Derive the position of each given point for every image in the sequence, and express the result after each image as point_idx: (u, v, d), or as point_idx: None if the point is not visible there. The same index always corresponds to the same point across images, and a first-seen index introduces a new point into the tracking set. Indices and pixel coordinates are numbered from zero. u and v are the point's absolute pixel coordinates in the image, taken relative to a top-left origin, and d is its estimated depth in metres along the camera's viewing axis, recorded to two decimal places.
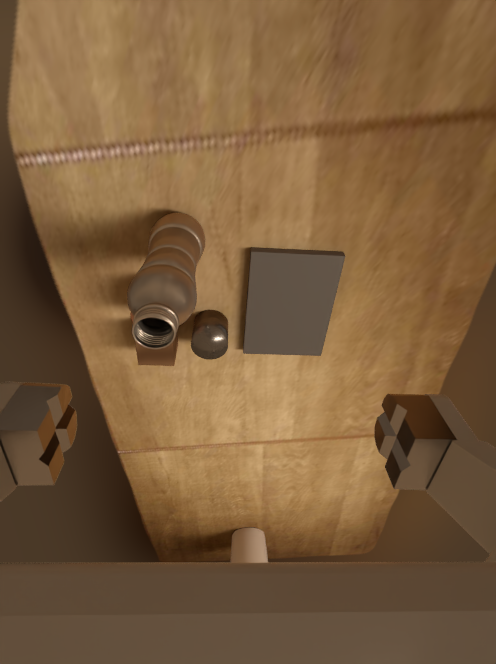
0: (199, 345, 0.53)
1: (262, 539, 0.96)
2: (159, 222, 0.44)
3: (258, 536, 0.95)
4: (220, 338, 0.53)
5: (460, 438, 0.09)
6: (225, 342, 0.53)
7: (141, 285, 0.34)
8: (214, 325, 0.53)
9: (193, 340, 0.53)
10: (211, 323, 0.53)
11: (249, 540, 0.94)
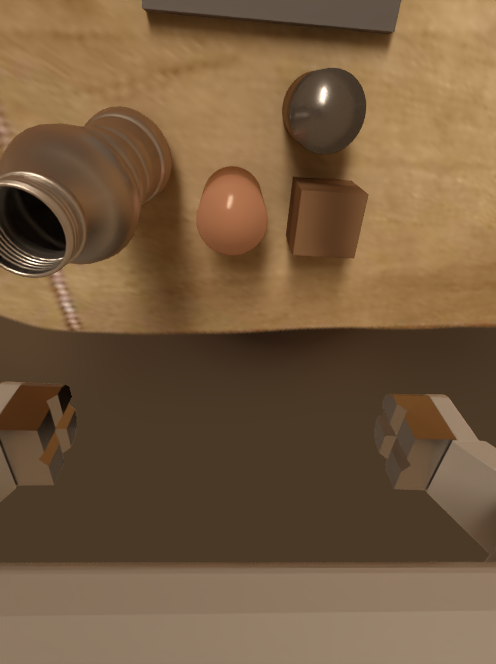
0: (324, 136, 0.27)
1: None
2: None
3: None
4: (313, 85, 0.25)
5: (460, 438, 0.09)
6: (324, 73, 0.25)
7: None
8: (290, 99, 0.27)
9: (310, 147, 0.27)
10: (288, 106, 0.27)
11: None
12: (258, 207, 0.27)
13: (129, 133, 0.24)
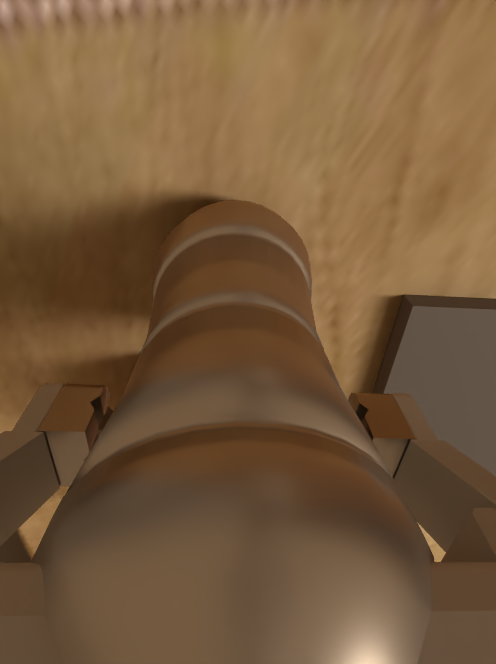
0: None
1: None
2: (187, 223, 0.15)
3: None
4: None
5: (419, 437, 0.09)
6: None
7: (100, 652, 0.04)
8: None
9: None
10: None
11: None
12: None
13: None
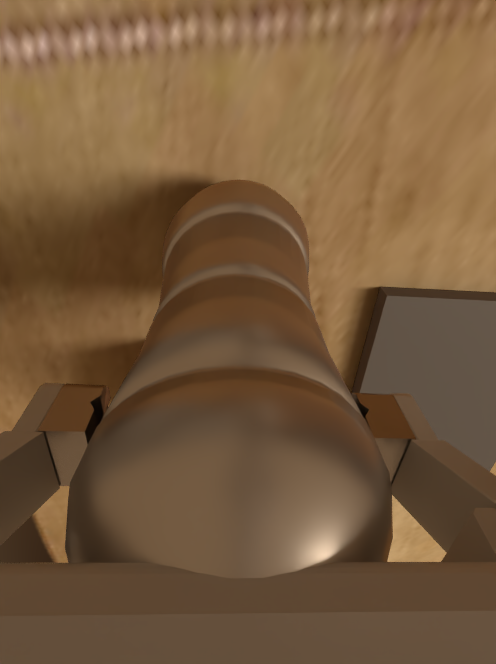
0: None
1: None
2: (193, 203, 0.16)
3: None
4: None
5: (419, 437, 0.09)
6: None
7: (132, 518, 0.06)
8: None
9: None
10: None
11: None
12: None
13: None
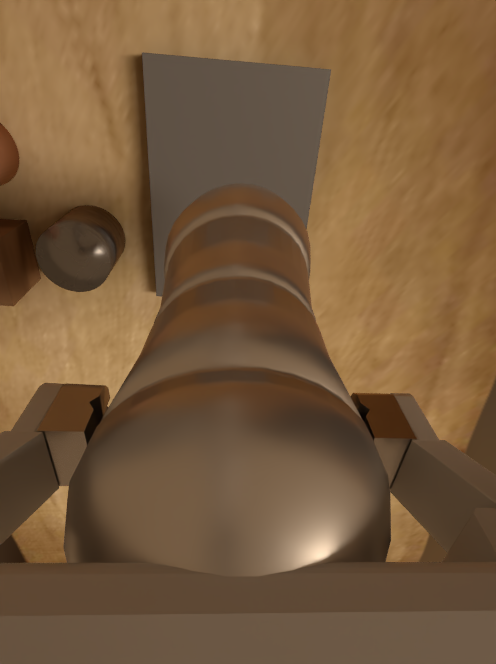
0: (53, 257, 0.27)
1: None
2: (195, 206, 0.16)
3: None
4: (93, 244, 0.27)
5: (420, 437, 0.09)
6: (104, 254, 0.27)
7: (130, 517, 0.06)
8: (85, 220, 0.27)
9: (39, 244, 0.27)
10: (80, 217, 0.28)
11: None
12: None
13: None
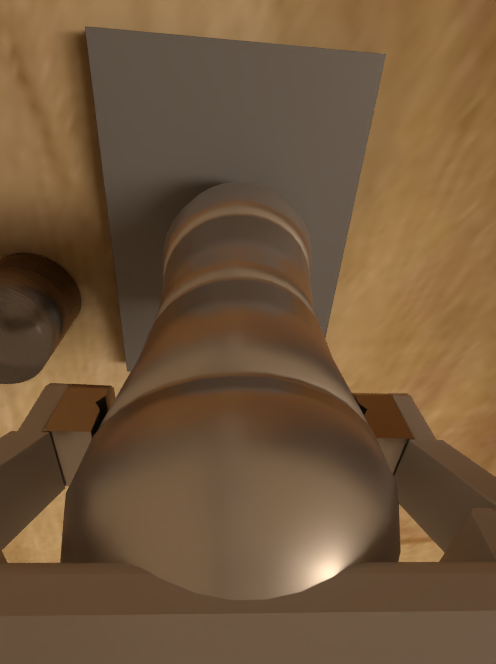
0: None
1: None
2: (194, 204, 0.16)
3: None
4: (18, 324, 0.18)
5: (418, 437, 0.09)
6: (37, 337, 0.18)
7: (130, 533, 0.05)
8: (10, 285, 0.18)
9: None
10: (3, 280, 0.18)
11: None
12: None
13: None
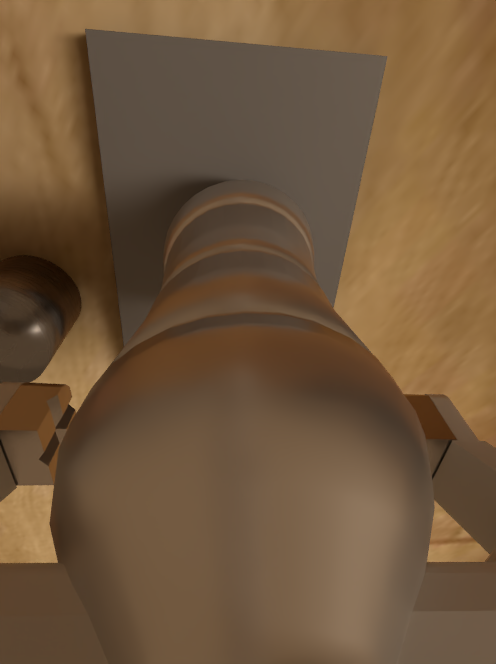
0: None
1: None
2: (195, 198, 0.15)
3: None
4: (21, 326, 0.18)
5: (460, 438, 0.09)
6: (39, 339, 0.18)
7: (132, 465, 0.05)
8: (12, 287, 0.18)
9: None
10: (5, 281, 0.18)
11: None
12: None
13: None
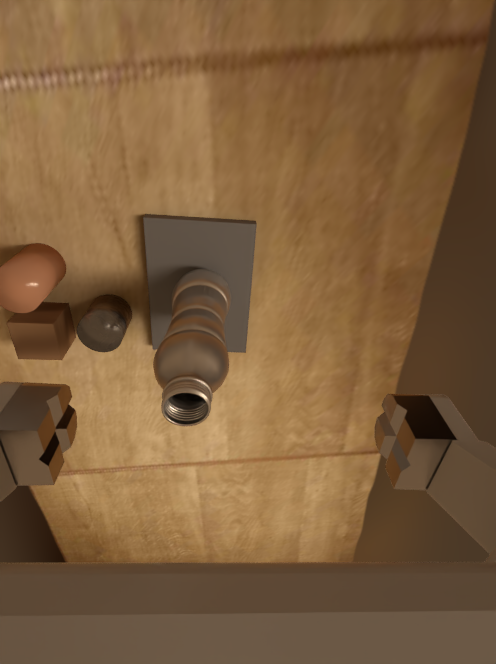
0: (87, 332, 0.44)
1: None
2: (183, 279, 0.42)
3: None
4: (113, 327, 0.44)
5: (460, 438, 0.09)
6: (119, 332, 0.44)
7: (170, 354, 0.31)
8: (109, 310, 0.44)
9: (80, 324, 0.43)
10: (106, 308, 0.44)
11: None
12: (29, 308, 0.40)
13: None
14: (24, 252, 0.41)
